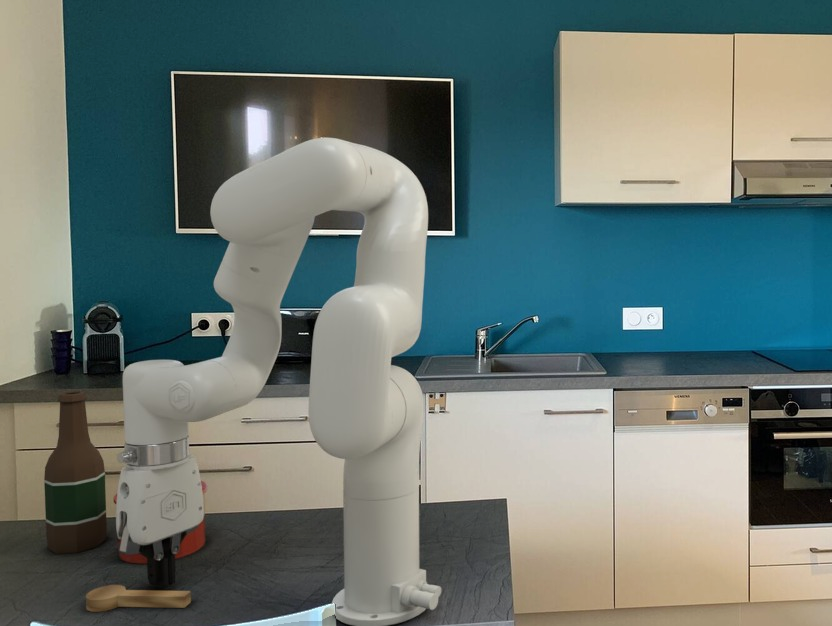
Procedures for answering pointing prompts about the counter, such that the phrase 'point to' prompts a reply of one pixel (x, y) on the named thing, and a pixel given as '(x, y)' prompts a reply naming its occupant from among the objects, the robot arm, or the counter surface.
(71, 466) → the beer bottle
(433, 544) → the counter surface
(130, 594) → the spoon
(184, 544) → the pot
